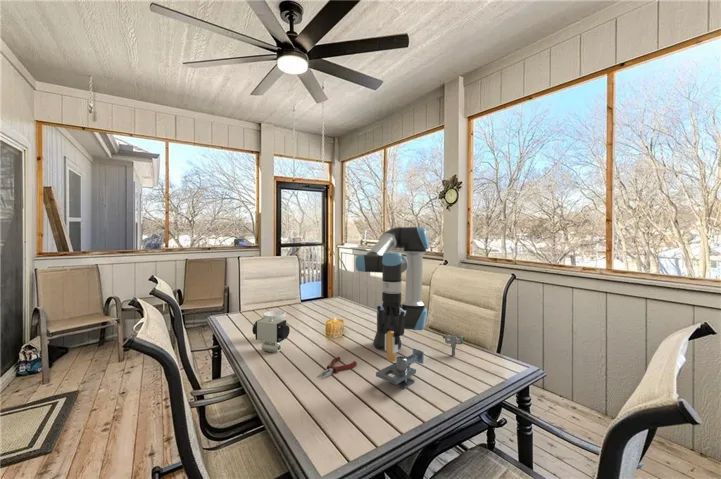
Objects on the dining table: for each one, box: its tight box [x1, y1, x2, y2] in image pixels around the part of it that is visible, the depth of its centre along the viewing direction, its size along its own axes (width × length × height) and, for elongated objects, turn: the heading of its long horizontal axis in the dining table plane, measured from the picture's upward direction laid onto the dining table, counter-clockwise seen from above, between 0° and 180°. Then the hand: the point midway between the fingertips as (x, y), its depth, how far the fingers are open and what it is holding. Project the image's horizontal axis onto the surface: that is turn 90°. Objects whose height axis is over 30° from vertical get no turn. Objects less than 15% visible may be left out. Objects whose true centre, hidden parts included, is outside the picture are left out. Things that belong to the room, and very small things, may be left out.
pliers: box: [317, 356, 358, 379], centre depth 139 cm, size 11×20×3 cm, turn 147°
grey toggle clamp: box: [375, 348, 425, 390], centre depth 129 cm, size 10×23×10 cm, turn 136°
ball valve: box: [252, 317, 291, 353], centre depth 161 cm, size 18×8×18 cm, turn 71°
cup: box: [262, 309, 287, 320], centre depth 178 cm, size 12×12×15 cm
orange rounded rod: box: [386, 331, 396, 362], centre depth 123 cm, size 3×3×11 cm
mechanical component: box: [442, 333, 465, 357], centre depth 156 cm, size 3×10×10 cm, turn 78°
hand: (391, 350), depth 123 cm, fingers closed on orange rounded rod, 3 cm apart
